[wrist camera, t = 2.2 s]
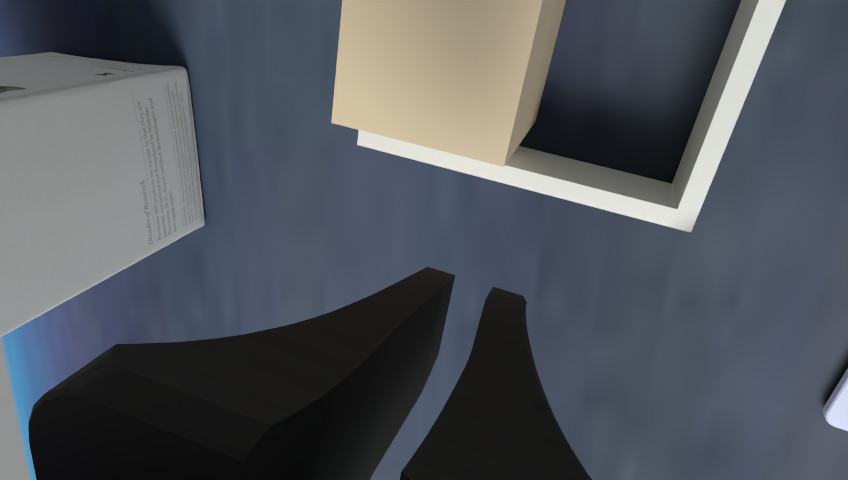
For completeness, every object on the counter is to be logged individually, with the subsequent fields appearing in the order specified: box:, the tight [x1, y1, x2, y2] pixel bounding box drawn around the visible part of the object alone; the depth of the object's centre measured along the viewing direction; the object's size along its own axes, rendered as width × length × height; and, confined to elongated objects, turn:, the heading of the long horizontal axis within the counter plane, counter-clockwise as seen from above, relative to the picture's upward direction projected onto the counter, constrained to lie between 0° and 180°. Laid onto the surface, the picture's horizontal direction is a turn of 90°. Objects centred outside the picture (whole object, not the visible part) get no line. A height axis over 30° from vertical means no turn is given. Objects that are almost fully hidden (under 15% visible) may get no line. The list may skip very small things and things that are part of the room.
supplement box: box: [0, 52, 205, 337], centre depth 21 cm, size 7×7×13 cm
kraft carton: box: [332, 0, 566, 167], centre depth 17 cm, size 5×5×6 cm
